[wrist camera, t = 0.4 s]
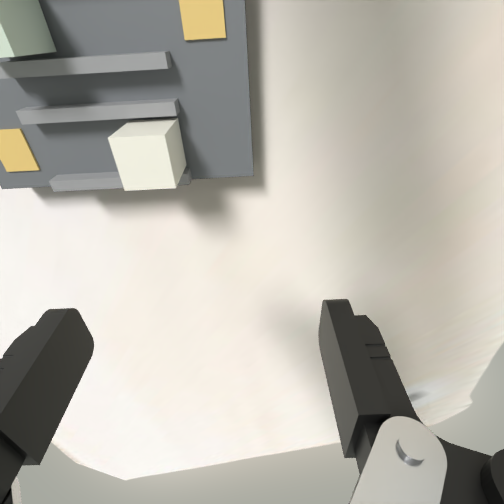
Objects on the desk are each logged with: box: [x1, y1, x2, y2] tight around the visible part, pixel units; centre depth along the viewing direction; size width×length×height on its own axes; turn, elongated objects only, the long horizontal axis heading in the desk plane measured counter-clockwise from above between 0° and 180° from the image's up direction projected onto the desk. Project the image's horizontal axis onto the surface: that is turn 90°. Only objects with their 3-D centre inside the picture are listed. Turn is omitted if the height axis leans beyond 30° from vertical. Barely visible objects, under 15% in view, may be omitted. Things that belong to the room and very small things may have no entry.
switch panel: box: [0, 0, 253, 192], centre depth 25 cm, size 16×24×4 cm, turn 93°
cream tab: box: [108, 118, 186, 191], centre depth 25 cm, size 4×4×5 cm
